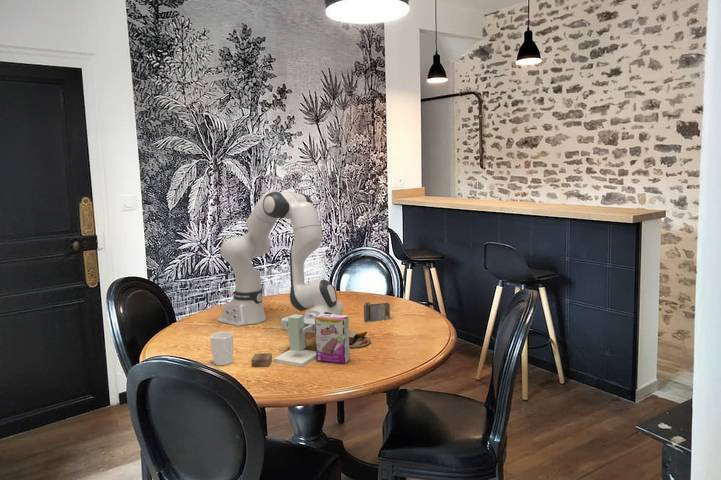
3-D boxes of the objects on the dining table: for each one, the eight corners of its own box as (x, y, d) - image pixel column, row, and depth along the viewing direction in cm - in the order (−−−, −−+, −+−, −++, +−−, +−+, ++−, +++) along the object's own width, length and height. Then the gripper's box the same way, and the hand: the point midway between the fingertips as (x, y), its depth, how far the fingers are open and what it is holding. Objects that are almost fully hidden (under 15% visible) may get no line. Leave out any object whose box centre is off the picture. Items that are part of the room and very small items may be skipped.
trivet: (274, 361, 188) (273, 358, 188) (292, 351, 199) (292, 347, 198) (302, 366, 183) (302, 363, 182) (320, 355, 193) (320, 352, 193)
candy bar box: (315, 361, 187) (313, 316, 185) (321, 356, 192) (319, 312, 189) (345, 364, 183) (343, 318, 181) (350, 359, 188) (348, 314, 186)
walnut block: (251, 367, 184) (251, 359, 183) (255, 361, 190) (254, 353, 189) (269, 367, 184) (268, 359, 183) (272, 361, 190) (271, 353, 189)
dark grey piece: (365, 323, 232) (365, 301, 231) (364, 321, 235) (363, 300, 234) (390, 321, 235) (390, 299, 233) (388, 319, 238) (388, 298, 236)
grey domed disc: (287, 349, 201) (287, 343, 200) (296, 344, 206) (296, 338, 206) (301, 351, 198) (300, 345, 198) (309, 346, 203) (309, 340, 203)
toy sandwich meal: (363, 350, 197) (363, 338, 197) (330, 347, 202) (330, 335, 202) (375, 340, 209) (374, 328, 208) (343, 337, 214) (343, 325, 213)
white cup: (214, 358, 193) (212, 332, 191) (236, 357, 193) (234, 331, 192) (210, 366, 185) (208, 339, 184) (233, 365, 186) (231, 338, 184)
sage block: (289, 349, 189) (288, 317, 187) (296, 346, 193) (294, 314, 191) (299, 351, 187) (297, 318, 186) (305, 347, 191) (303, 315, 189)
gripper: (292, 309, 205) (270, 319, 192) (338, 314, 196) (319, 324, 183) (292, 325, 206) (271, 335, 193) (339, 330, 196) (320, 342, 184)
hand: (295, 330), depth 188 cm, fingers closed on sage block, 4 cm apart
